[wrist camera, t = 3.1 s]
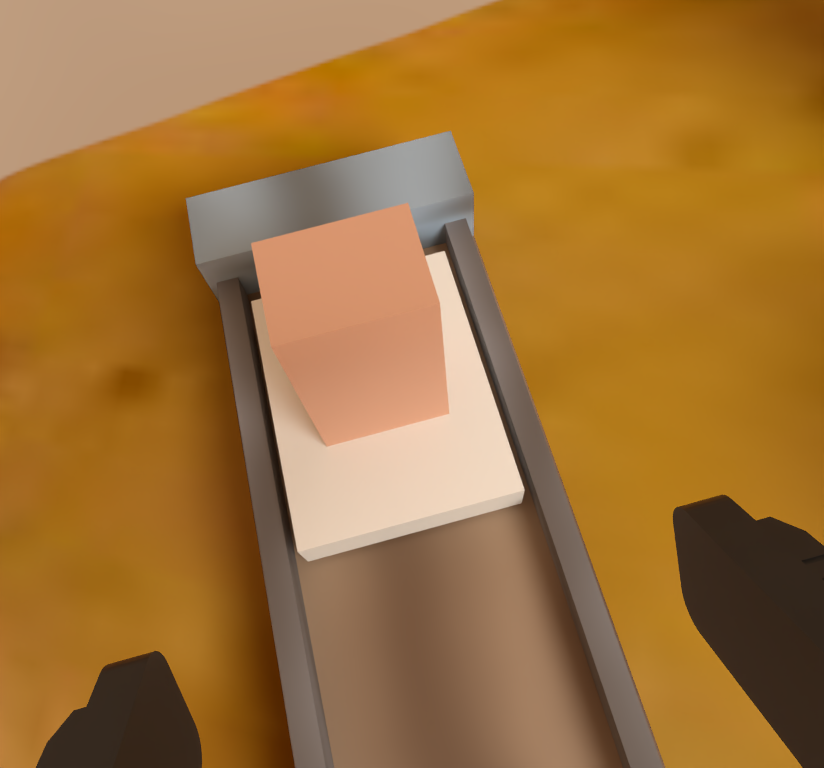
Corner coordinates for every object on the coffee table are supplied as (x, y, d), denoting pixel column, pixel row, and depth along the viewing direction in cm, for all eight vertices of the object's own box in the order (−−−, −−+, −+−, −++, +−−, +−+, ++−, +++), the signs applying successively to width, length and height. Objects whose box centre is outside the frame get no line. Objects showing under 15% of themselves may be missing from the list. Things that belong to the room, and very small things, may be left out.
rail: (453, 200, 30) (450, 131, 26) (787, 1143, 18) (869, 1256, 14) (220, 260, 30) (186, 198, 26) (391, 1265, 17) (368, 1413, 14)
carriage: (445, 274, 27) (434, 101, 19) (521, 503, 23) (544, 401, 15) (262, 322, 26) (177, 167, 19) (308, 561, 23) (224, 486, 15)
